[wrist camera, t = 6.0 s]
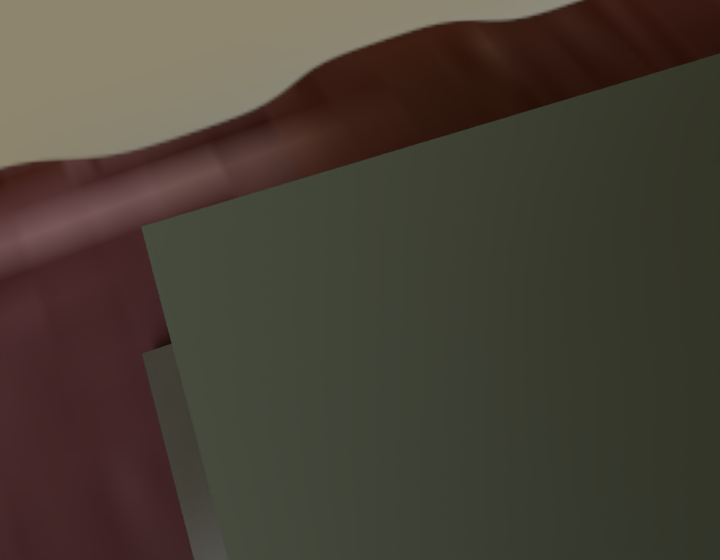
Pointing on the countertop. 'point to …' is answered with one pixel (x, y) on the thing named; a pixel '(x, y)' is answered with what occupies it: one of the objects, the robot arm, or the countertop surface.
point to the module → (468, 340)
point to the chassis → (184, 455)
